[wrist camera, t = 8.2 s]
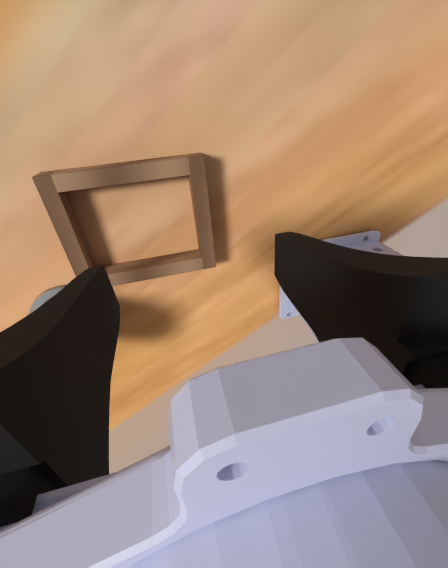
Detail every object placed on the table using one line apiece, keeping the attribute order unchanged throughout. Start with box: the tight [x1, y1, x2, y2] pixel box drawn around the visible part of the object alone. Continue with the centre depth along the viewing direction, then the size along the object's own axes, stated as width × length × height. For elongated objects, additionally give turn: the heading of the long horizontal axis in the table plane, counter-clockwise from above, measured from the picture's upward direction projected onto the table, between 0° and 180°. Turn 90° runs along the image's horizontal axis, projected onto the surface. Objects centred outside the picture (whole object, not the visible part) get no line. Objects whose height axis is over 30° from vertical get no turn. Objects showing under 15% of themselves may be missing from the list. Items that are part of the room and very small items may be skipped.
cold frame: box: [32, 153, 216, 286], centre depth 19 cm, size 10×8×2 cm
